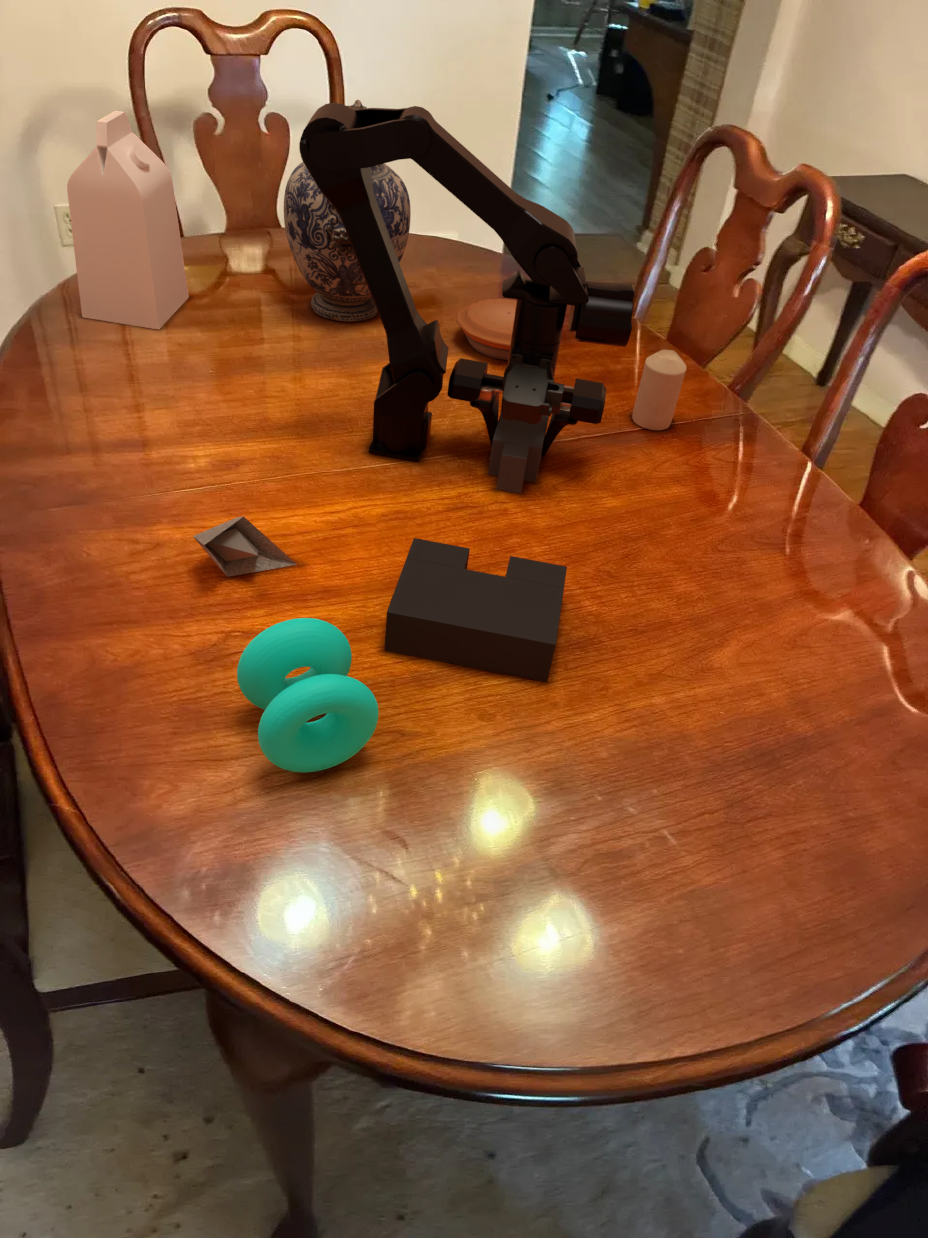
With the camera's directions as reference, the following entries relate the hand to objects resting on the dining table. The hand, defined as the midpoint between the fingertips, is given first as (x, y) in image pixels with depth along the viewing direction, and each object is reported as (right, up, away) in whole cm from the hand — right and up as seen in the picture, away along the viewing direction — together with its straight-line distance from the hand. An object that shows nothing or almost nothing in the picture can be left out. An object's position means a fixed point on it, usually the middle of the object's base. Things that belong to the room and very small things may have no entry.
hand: (517, 451), depth 117 cm
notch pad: (-6, -22, -24) cm, 33 cm away
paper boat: (-30, -17, -22) cm, 41 cm away
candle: (+19, +6, +12) cm, 23 cm away
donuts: (-20, -32, -36) cm, 52 cm away
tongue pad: (0, -2, 0) cm, 2 cm away
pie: (-1, +21, +25) cm, 33 cm away
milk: (-56, +25, +22) cm, 65 cm away
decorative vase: (-25, +28, +29) cm, 47 cm away
